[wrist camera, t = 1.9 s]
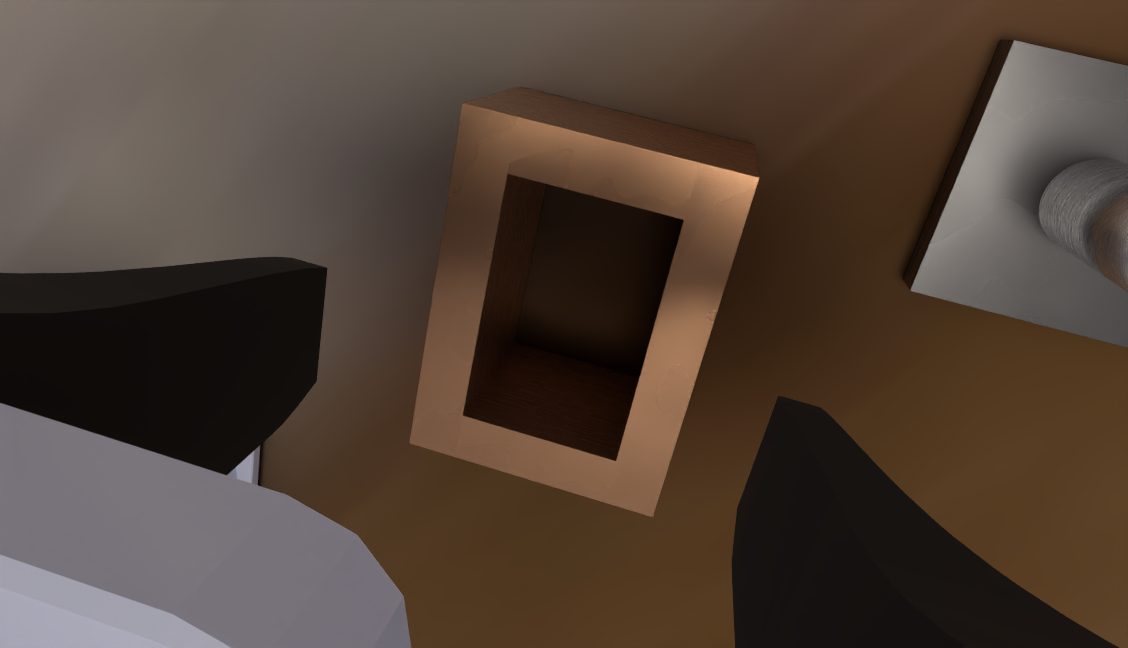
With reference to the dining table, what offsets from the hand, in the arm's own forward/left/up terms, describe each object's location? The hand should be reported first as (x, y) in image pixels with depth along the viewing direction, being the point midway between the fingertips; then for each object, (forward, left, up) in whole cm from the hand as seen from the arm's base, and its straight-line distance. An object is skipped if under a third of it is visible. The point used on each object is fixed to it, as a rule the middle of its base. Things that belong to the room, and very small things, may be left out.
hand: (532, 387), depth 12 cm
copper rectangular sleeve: (0, 0, -7) cm, 7 cm away
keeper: (+4, -9, -7) cm, 12 cm away
